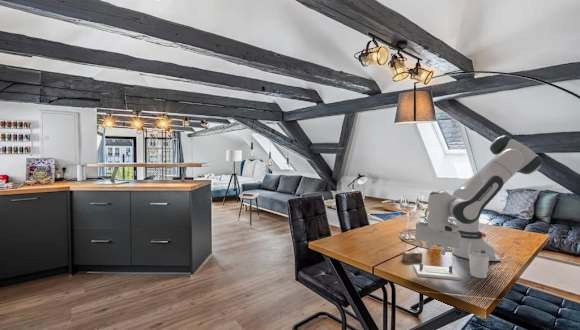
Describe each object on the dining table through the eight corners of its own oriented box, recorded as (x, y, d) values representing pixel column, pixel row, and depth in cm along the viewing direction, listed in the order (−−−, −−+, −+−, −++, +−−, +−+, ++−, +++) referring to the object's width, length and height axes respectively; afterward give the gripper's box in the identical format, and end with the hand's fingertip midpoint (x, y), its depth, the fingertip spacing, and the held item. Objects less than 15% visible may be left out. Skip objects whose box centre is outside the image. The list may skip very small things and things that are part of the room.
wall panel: (452, 270, 143) (452, 262, 143) (460, 280, 131) (460, 271, 131) (413, 266, 147) (413, 259, 147) (418, 276, 136) (418, 268, 135)
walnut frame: (417, 260, 158) (417, 250, 158) (422, 262, 154) (422, 253, 154) (402, 260, 156) (402, 251, 156) (406, 263, 152) (406, 253, 152)
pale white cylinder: (480, 272, 141) (481, 251, 141) (492, 279, 133) (493, 257, 133) (464, 272, 141) (465, 251, 140) (475, 279, 133) (476, 257, 133)
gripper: (413, 221, 144) (412, 249, 144) (458, 229, 129) (457, 260, 129) (418, 220, 148) (418, 246, 149) (463, 227, 133) (462, 257, 133)
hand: (436, 253), depth 139 cm, fingers open, 4 cm apart
